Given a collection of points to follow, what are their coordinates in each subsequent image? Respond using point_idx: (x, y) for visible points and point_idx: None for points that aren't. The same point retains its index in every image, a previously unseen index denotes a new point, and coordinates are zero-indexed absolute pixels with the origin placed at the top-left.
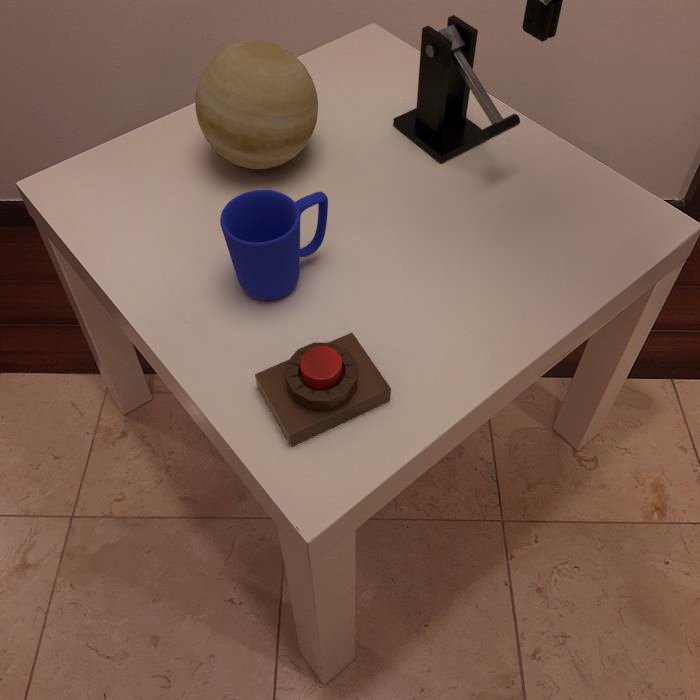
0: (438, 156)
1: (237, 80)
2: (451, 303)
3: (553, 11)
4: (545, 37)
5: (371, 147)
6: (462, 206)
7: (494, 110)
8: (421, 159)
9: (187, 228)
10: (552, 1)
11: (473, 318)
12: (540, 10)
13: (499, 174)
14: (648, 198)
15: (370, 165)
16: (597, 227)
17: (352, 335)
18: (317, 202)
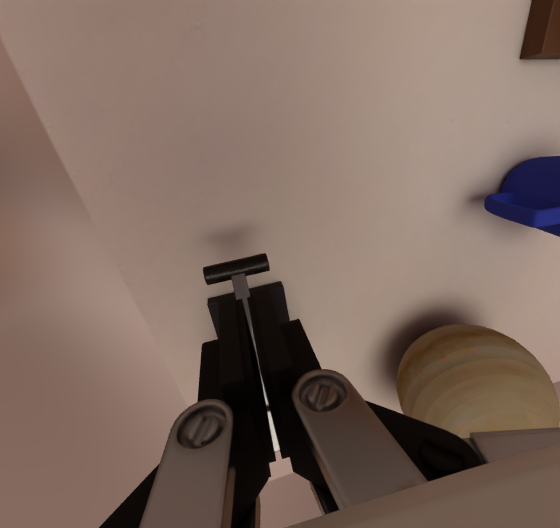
0: (283, 288)
1: (555, 412)
2: (400, 57)
3: (264, 347)
4: (265, 292)
5: (333, 330)
6: (296, 205)
7: (241, 293)
8: (296, 295)
9: (530, 284)
10: (276, 383)
11: (394, 16)
12: (313, 363)
13: (224, 238)
14: (30, 97)
15: (349, 305)
16: (148, 81)
17: (545, 47)
18: (552, 208)
